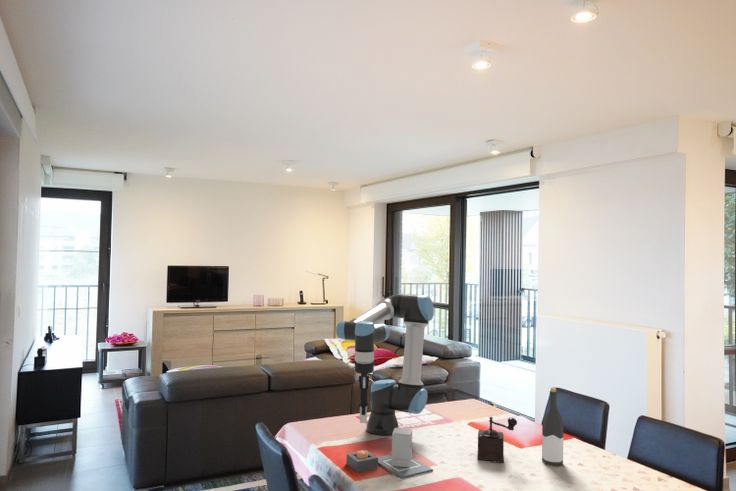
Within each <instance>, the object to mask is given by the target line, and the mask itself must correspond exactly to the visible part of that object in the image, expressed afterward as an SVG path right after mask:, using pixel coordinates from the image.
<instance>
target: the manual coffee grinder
mask: <svg viewBox="0 0 736 491" xmlns="http://www.w3.org/2000/svg"><path fill="white" fill-rule="evenodd" d="M493 419H494V418H493V417H492V416H489V428H488V429H478V433H477V456H476V457H477V459H476V460H477V461H478V462H479V461H480V462H487V463H504V461H505V455H504V450H505V449H504V446H505V445H504V444H505V442H504V435H505V434H504V433H503V432H502V431H497V430H496V429H495V430H494V429H493V425H495V426H500V427H503V428H505V429H507V430H508V431H515V429H514V428H515V427H516V426H517V424H518V420H516V418H514V417H508V418H507V424H508V425H505V424H504V423H503V424H502V423H499V422H495V421H494V420H493Z"/></svg>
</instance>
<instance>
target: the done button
mask: <svg viewBox="0 0 736 491" xmlns="http://www.w3.org/2000/svg"><path fill="white" fill-rule="evenodd" d="M367 451H368V450H367ZM367 451H364V450H363V449H361V450H357V451H356V452H357V458H358V459H364V458H368V452H367Z"/></svg>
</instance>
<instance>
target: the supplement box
mask: <svg viewBox="0 0 736 491" xmlns="http://www.w3.org/2000/svg"><path fill="white" fill-rule="evenodd" d="M391 454H392V463H391V465H392V466H400V467H410V463H411V460H412V456H413V428H405V427H399V428H394V431H393V433H392V435H391Z"/></svg>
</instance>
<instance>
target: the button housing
mask: <svg viewBox="0 0 736 491" xmlns="http://www.w3.org/2000/svg"><path fill="white" fill-rule="evenodd" d="M363 451H367V452H368V458H364V459H358V458H357V451H355V452H350V453H346V457H345V458H346V462H345V465H347V466H348V467H349V468H351V469H352V470H353V471H355V472H356V473H360V472H361V473H362V472H367V471H371V470H376V469H378V468H379V465H378V457H379V456H377V455H375V454H373V453H372V452H370V451H369V450H367V449H365V450H363Z"/></svg>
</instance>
